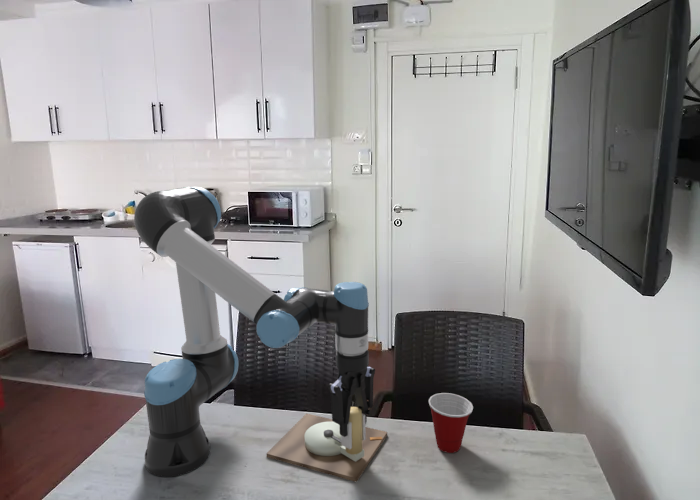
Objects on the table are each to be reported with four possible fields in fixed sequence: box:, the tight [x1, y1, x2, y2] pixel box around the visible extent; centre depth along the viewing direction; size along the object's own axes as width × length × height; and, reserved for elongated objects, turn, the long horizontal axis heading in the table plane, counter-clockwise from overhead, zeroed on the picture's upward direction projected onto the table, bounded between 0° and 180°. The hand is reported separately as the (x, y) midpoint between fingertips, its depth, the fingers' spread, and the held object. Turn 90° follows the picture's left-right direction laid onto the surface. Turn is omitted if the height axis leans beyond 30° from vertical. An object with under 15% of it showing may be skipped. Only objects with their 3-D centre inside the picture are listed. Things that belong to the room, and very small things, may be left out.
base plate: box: [265, 413, 388, 483], centre depth 127 cm, size 24×20×1 cm
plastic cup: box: [428, 392, 474, 454], centre depth 125 cm, size 11×11×12 cm
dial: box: [305, 406, 364, 462], centre depth 124 cm, size 17×12×12 cm
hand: (353, 441), depth 120 cm, fingers closed on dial, 4 cm apart
